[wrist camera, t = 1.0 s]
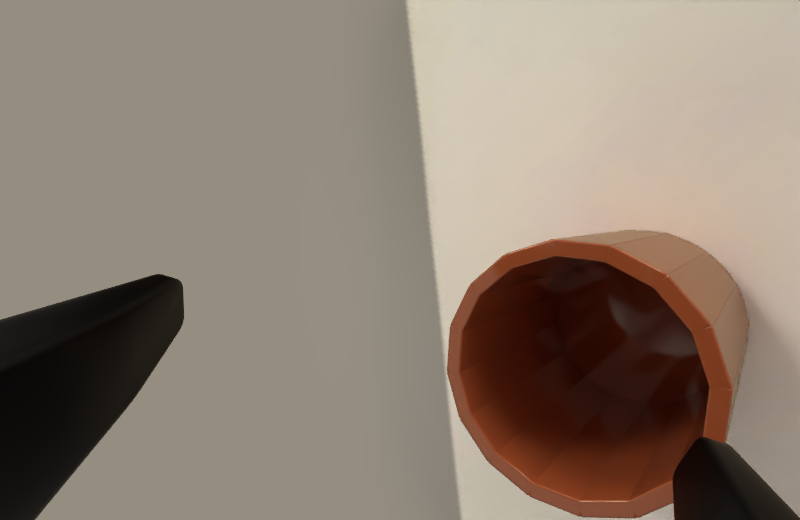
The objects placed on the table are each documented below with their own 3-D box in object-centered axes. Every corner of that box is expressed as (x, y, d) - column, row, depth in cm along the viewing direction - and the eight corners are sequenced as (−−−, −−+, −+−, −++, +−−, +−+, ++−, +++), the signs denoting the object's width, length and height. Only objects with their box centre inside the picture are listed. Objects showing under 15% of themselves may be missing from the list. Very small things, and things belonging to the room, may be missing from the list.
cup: (799, 348, 16) (814, 442, 9) (626, 441, 19) (548, 557, 13) (655, 192, 18) (586, 181, 11) (520, 299, 21) (407, 338, 15)
